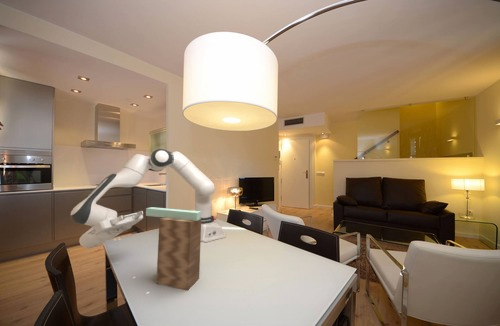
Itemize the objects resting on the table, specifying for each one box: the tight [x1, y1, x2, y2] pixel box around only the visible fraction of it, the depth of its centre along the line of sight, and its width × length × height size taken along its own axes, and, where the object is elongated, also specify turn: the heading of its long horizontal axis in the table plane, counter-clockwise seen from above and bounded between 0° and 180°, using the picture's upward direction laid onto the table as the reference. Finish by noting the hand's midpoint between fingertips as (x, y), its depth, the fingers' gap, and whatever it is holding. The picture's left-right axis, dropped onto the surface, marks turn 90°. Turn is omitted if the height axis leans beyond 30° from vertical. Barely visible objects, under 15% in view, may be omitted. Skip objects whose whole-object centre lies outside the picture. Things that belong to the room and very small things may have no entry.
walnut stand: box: [155, 217, 202, 291], centre depth 75 cm, size 14×8×25 cm, turn 75°
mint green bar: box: [145, 206, 201, 221], centre depth 77 cm, size 24×3×3 cm, turn 75°
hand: (132, 214), depth 82 cm, fingers open, 8 cm apart
